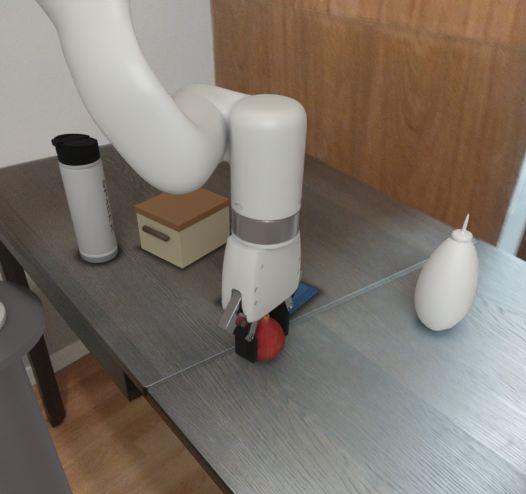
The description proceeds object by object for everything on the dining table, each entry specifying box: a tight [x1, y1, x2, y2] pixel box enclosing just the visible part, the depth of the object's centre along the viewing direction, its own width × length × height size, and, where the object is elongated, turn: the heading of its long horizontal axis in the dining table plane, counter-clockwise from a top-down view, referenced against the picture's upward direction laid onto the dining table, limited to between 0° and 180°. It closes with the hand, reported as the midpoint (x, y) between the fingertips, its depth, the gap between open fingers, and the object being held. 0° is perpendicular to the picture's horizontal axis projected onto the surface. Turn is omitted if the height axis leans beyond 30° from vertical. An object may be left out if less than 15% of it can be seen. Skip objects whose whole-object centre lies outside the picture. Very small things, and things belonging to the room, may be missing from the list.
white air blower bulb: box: [413, 213, 480, 332], centre depth 73 cm, size 8×8×18 cm
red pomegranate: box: [243, 314, 286, 363], centre depth 70 cm, size 6×6×8 cm
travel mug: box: [50, 133, 119, 264], centre depth 85 cm, size 6×7×20 cm
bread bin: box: [134, 187, 231, 269], centre depth 91 cm, size 13×10×8 cm
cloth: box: [219, 281, 319, 315], centre depth 83 cm, size 12×10×1 cm
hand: (262, 343), depth 70 cm, fingers closed on red pomegranate, 5 cm apart
